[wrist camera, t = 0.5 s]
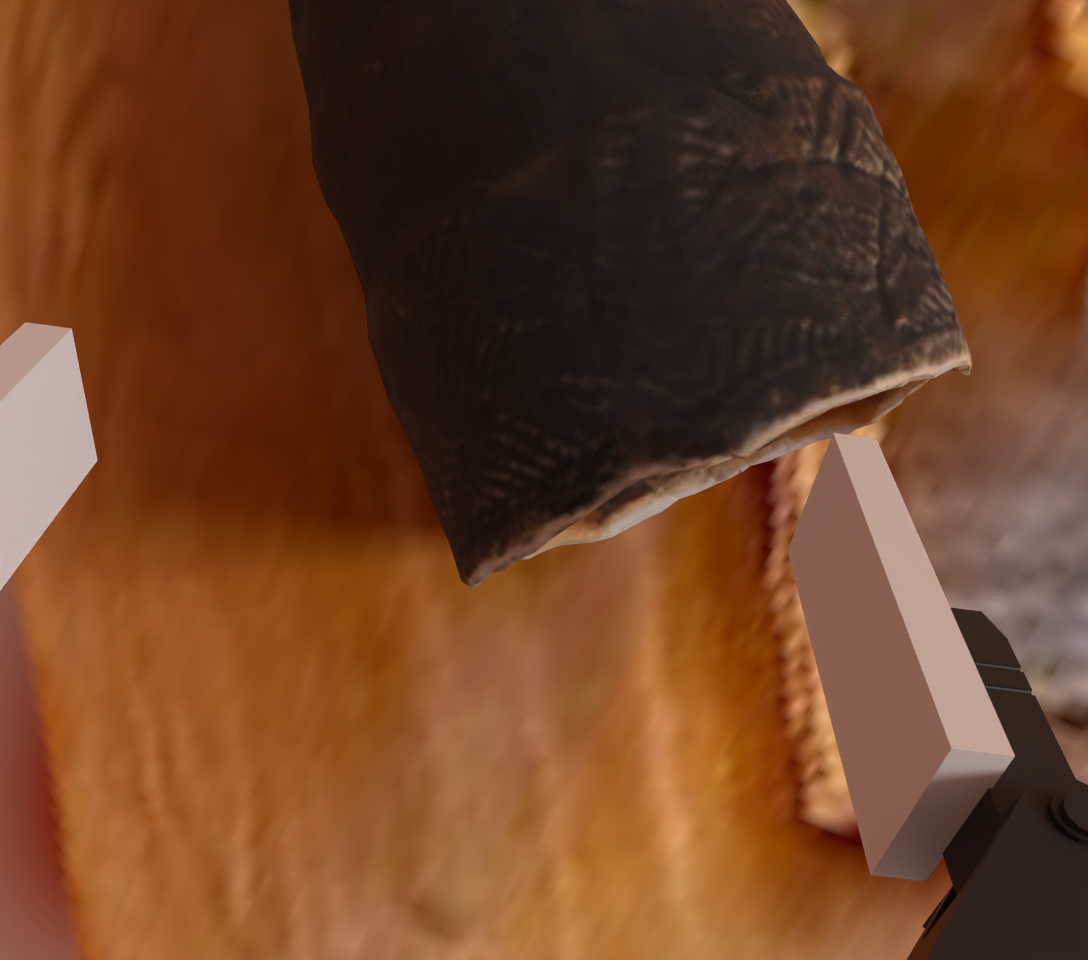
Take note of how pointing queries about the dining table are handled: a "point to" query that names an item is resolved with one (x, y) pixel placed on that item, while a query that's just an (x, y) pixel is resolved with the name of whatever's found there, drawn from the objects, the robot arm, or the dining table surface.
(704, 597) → the dining table surface
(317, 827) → the dining table surface
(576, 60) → the clay pot
